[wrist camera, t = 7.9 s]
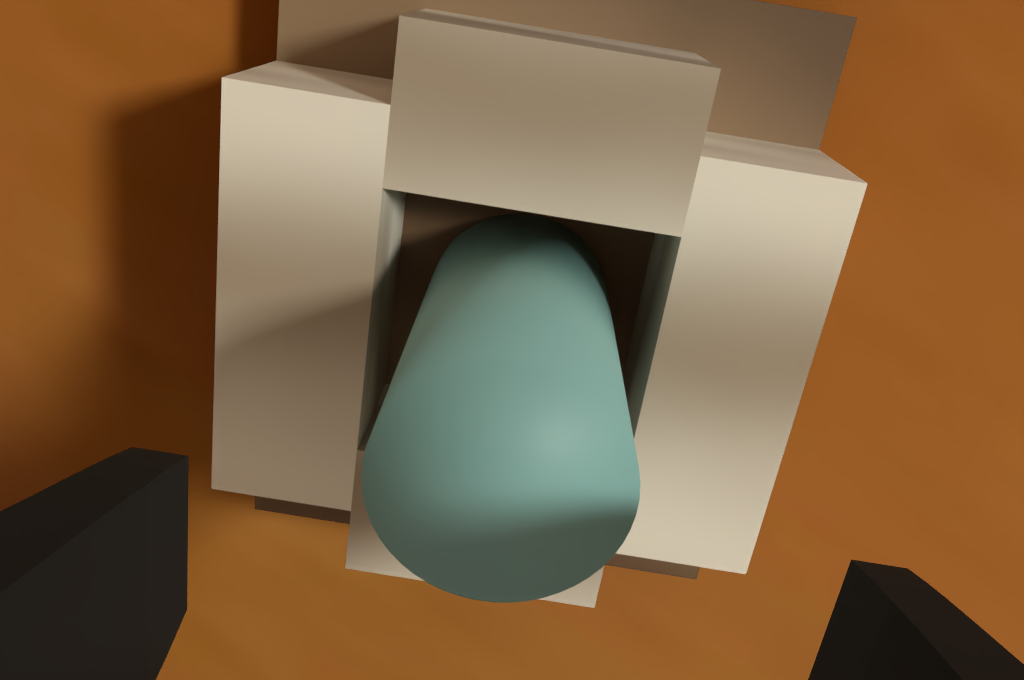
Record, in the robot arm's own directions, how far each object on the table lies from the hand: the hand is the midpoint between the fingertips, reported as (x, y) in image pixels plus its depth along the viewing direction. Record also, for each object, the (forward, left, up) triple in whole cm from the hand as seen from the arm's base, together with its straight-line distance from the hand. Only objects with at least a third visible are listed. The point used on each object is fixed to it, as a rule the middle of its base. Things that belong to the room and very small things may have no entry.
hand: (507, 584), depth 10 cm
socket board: (0, 0, -10) cm, 10 cm away
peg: (0, 0, -9) cm, 9 cm away
